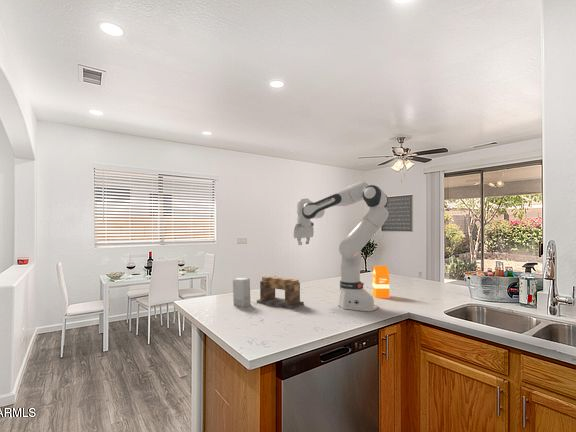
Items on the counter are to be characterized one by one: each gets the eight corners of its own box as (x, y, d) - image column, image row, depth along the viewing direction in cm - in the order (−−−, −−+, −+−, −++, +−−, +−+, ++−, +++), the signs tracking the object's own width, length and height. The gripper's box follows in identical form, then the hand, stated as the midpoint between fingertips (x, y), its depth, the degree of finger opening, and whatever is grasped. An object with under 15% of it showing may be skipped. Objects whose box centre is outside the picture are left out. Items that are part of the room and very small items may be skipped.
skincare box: (250, 304, 187) (250, 278, 187) (243, 307, 181) (243, 280, 181) (239, 302, 191) (239, 277, 192) (232, 305, 186) (232, 278, 186)
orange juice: (389, 297, 203) (389, 266, 203) (375, 297, 203) (375, 266, 204) (385, 295, 211) (385, 264, 211) (372, 295, 211) (372, 264, 211)
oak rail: (298, 290, 185) (298, 279, 185) (295, 291, 181) (294, 280, 181) (265, 285, 198) (265, 276, 198) (262, 286, 195) (262, 277, 195)
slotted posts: (303, 304, 187) (303, 282, 187) (292, 309, 177) (292, 285, 177) (268, 298, 202) (268, 278, 202) (256, 302, 192) (256, 281, 192)
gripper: (299, 223, 198) (299, 245, 197) (315, 223, 215) (315, 243, 215) (291, 223, 201) (291, 245, 201) (307, 223, 218) (307, 243, 218)
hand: (303, 244), depth 208 cm, fingers open, 8 cm apart
